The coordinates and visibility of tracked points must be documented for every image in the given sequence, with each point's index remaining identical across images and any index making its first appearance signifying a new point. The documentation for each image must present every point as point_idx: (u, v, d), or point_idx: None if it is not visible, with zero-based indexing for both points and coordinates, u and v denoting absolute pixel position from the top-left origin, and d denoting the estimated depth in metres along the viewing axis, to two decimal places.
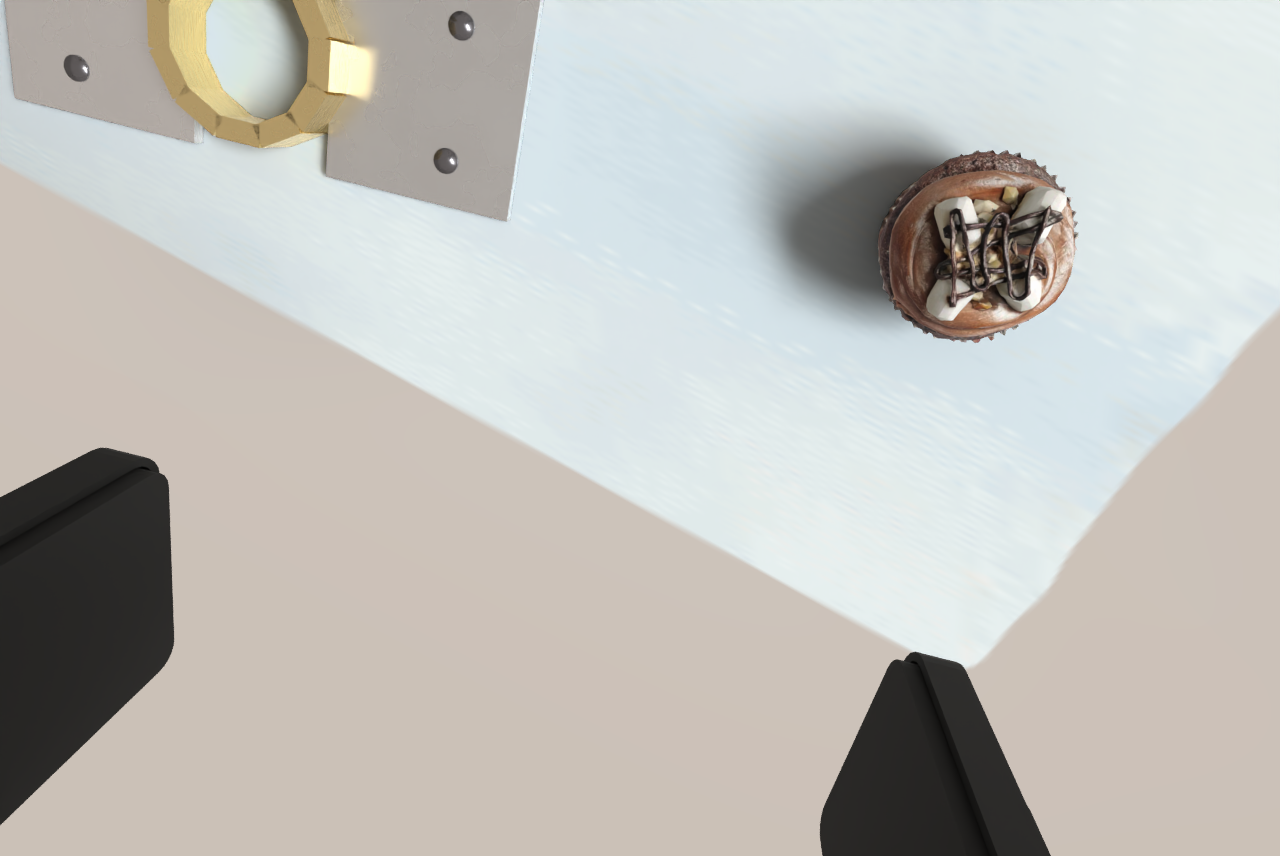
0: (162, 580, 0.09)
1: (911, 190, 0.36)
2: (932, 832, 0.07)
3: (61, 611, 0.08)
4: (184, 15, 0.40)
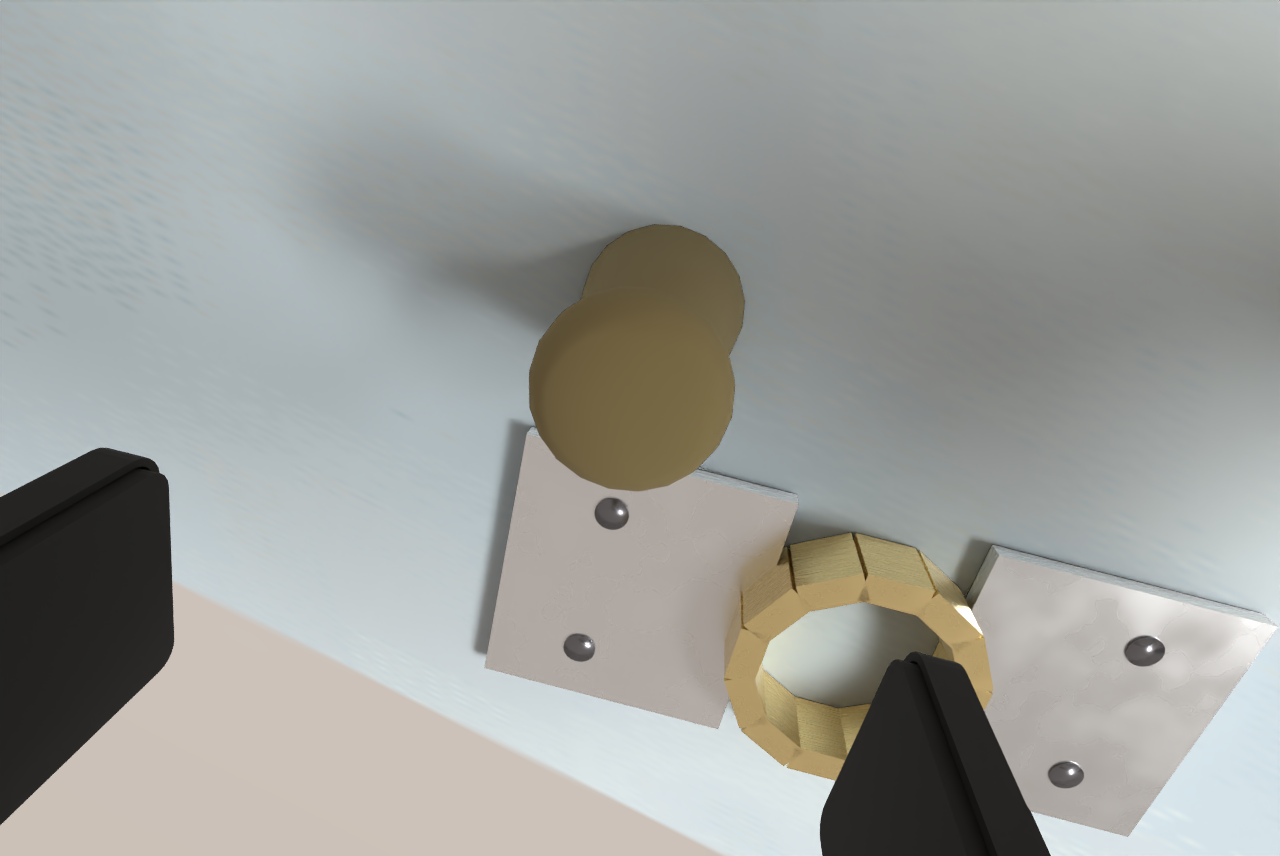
0: (162, 580, 0.09)
1: None
2: (932, 832, 0.07)
3: (61, 611, 0.08)
4: None
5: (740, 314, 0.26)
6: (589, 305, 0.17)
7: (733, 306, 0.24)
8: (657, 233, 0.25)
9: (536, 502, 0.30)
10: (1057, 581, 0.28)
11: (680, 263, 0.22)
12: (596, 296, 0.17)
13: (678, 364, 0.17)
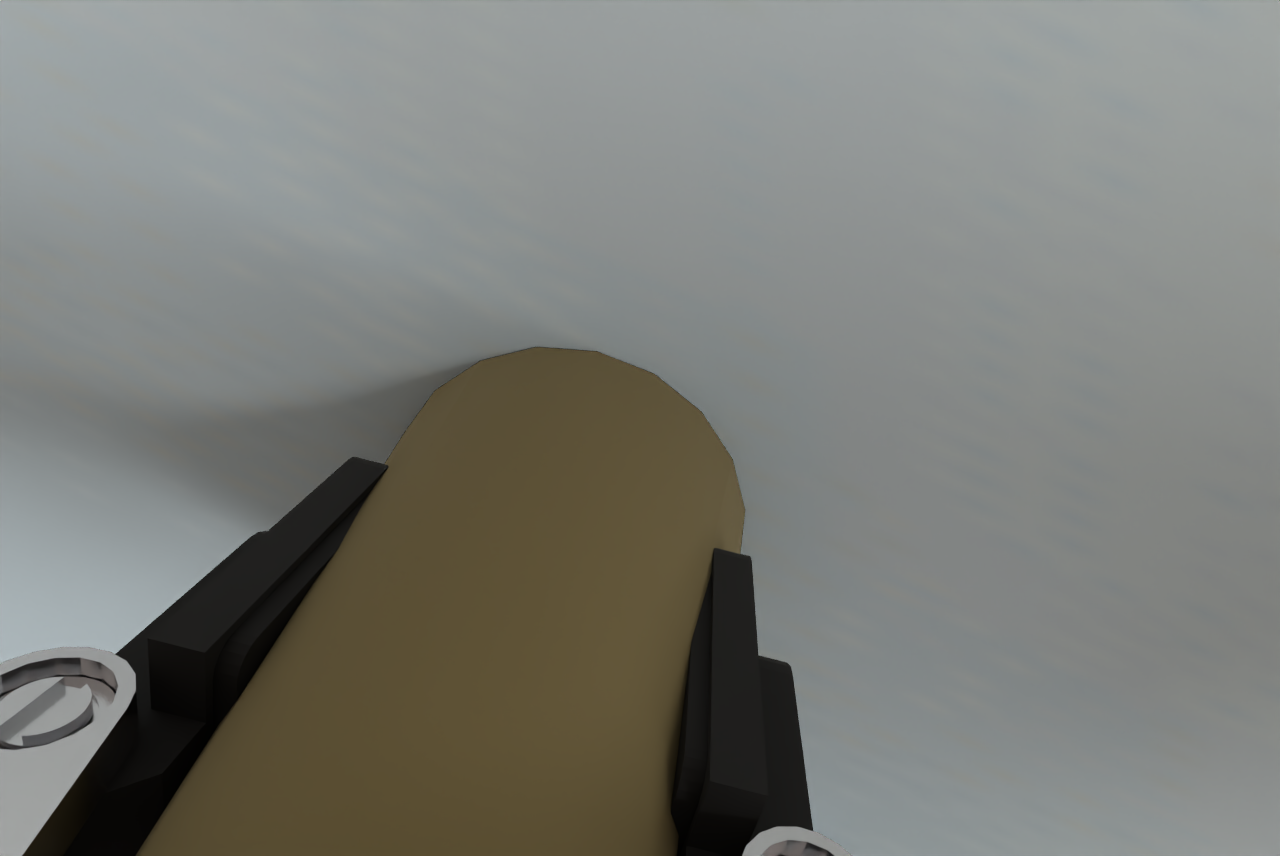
0: None
1: None
2: None
3: None
4: None
5: None
6: None
7: None
8: (533, 381, 0.10)
9: None
10: None
11: (561, 513, 0.08)
12: None
13: None
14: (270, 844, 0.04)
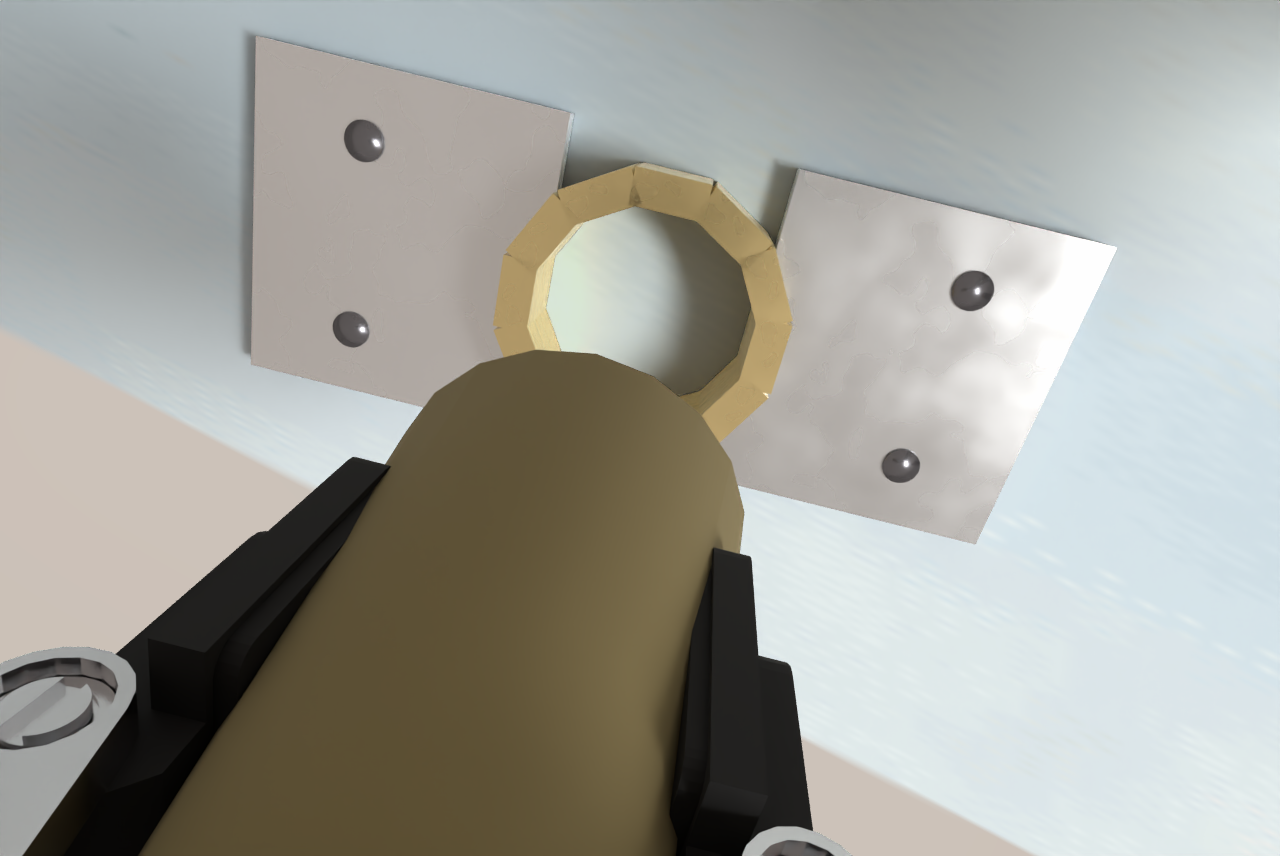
0: None
1: None
2: None
3: None
4: (543, 273, 0.26)
5: None
6: None
7: None
8: (532, 385, 0.10)
9: (279, 131, 0.26)
10: (867, 201, 0.25)
11: (561, 517, 0.08)
12: None
13: None
14: (270, 850, 0.04)
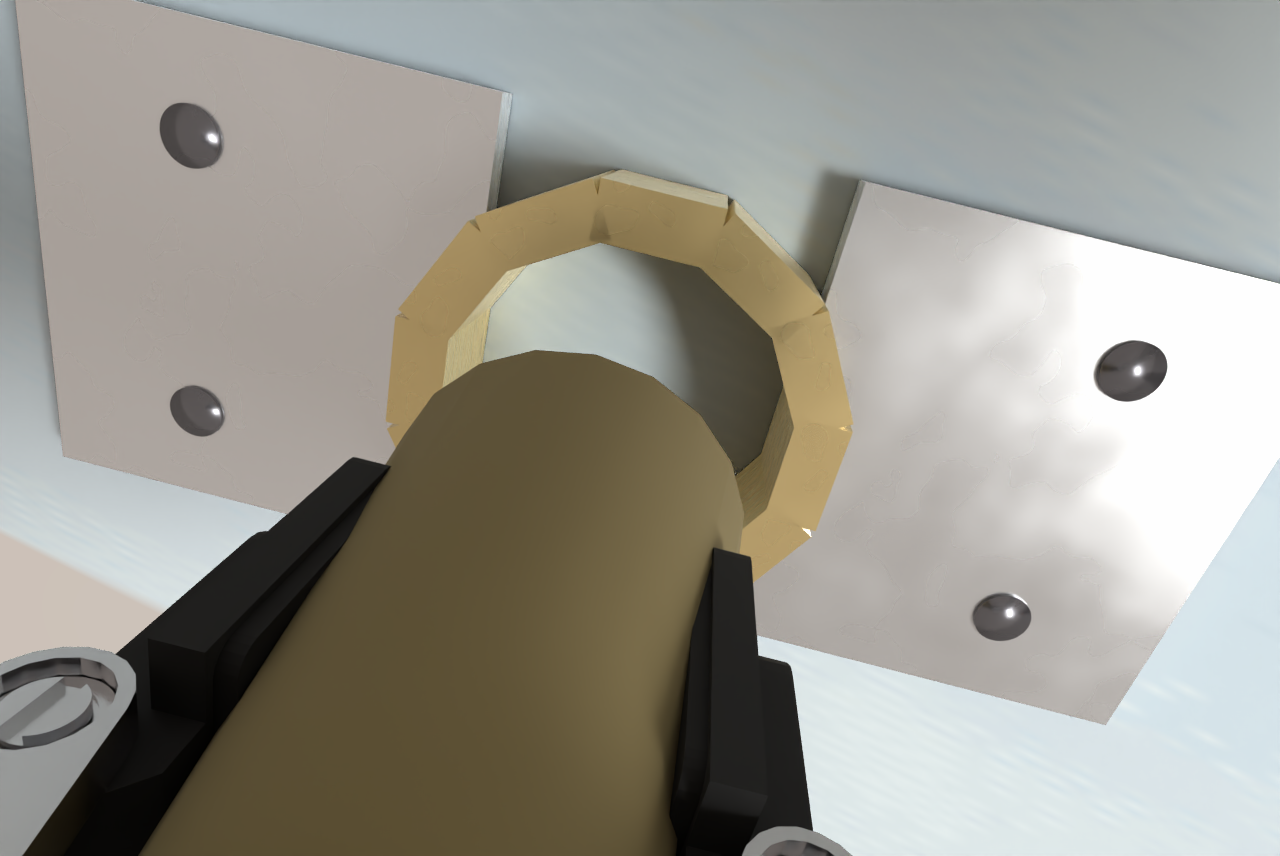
0: None
1: None
2: None
3: None
4: (465, 340, 0.17)
5: None
6: None
7: None
8: (532, 385, 0.10)
9: (64, 121, 0.17)
10: (972, 232, 0.16)
11: (560, 518, 0.08)
12: None
13: None
14: (269, 851, 0.04)
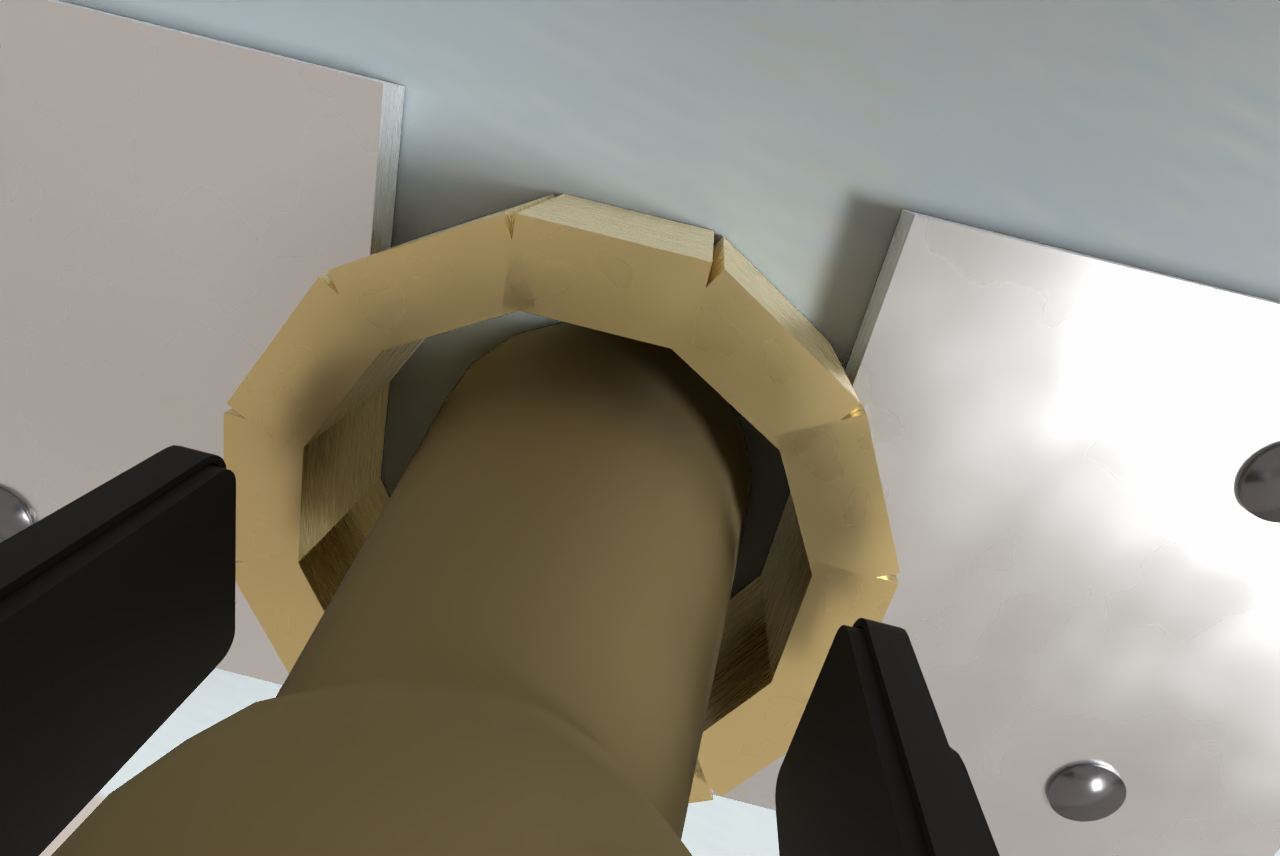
0: (227, 572, 0.10)
1: None
2: (864, 779, 0.07)
3: (145, 600, 0.08)
4: (342, 436, 0.12)
5: (744, 511, 0.12)
6: None
7: (730, 520, 0.11)
8: (566, 350, 0.12)
9: None
10: (1069, 288, 0.11)
11: (599, 454, 0.09)
12: (153, 836, 0.04)
13: None
14: (396, 676, 0.06)
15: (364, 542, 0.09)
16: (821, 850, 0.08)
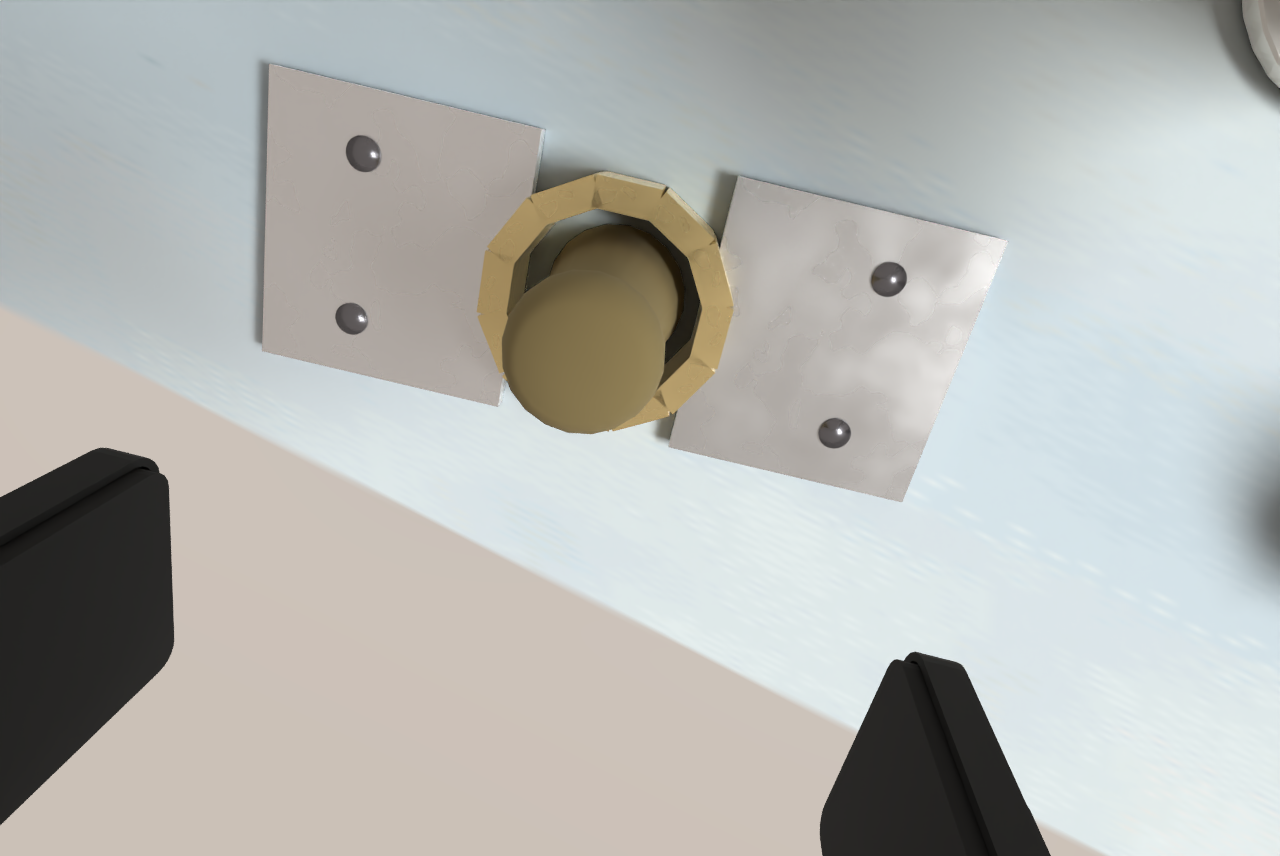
0: (162, 580, 0.09)
1: None
2: (932, 832, 0.07)
3: (62, 611, 0.08)
4: (519, 267, 0.30)
5: (680, 298, 0.30)
6: (548, 284, 0.22)
7: (672, 291, 0.29)
8: (609, 231, 0.30)
9: (288, 146, 0.30)
10: (796, 203, 0.29)
11: (625, 254, 0.27)
12: (553, 277, 0.22)
13: (618, 328, 0.21)
14: None
15: None
16: None
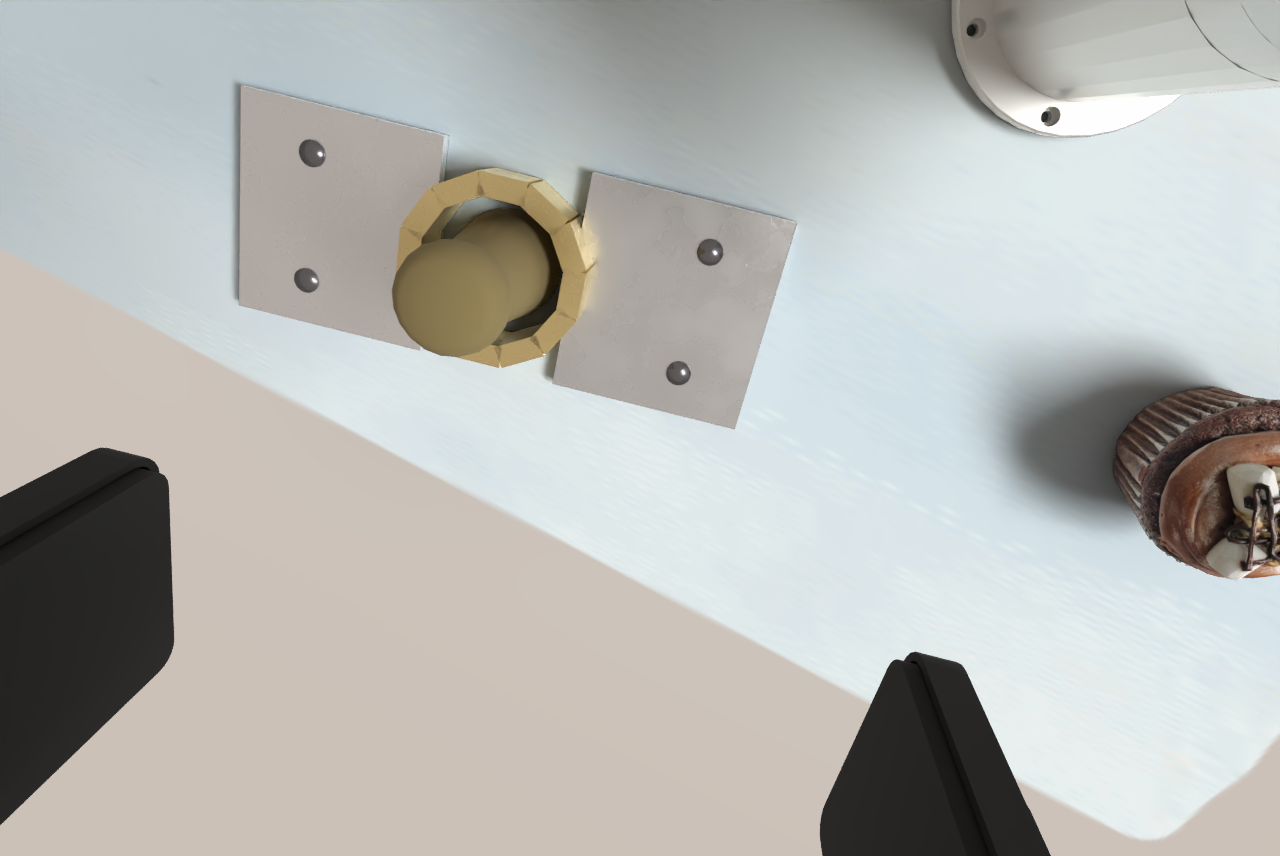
0: (162, 580, 0.09)
1: (1186, 437, 0.36)
2: (932, 832, 0.07)
3: (61, 611, 0.08)
4: (429, 240, 0.39)
5: (553, 266, 0.40)
6: (421, 248, 0.31)
7: (541, 259, 0.38)
8: (496, 213, 0.39)
9: (256, 147, 0.39)
10: (636, 193, 0.38)
11: (500, 230, 0.37)
12: (426, 243, 0.32)
13: (467, 278, 0.31)
14: None
15: None
16: None
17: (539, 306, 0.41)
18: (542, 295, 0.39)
